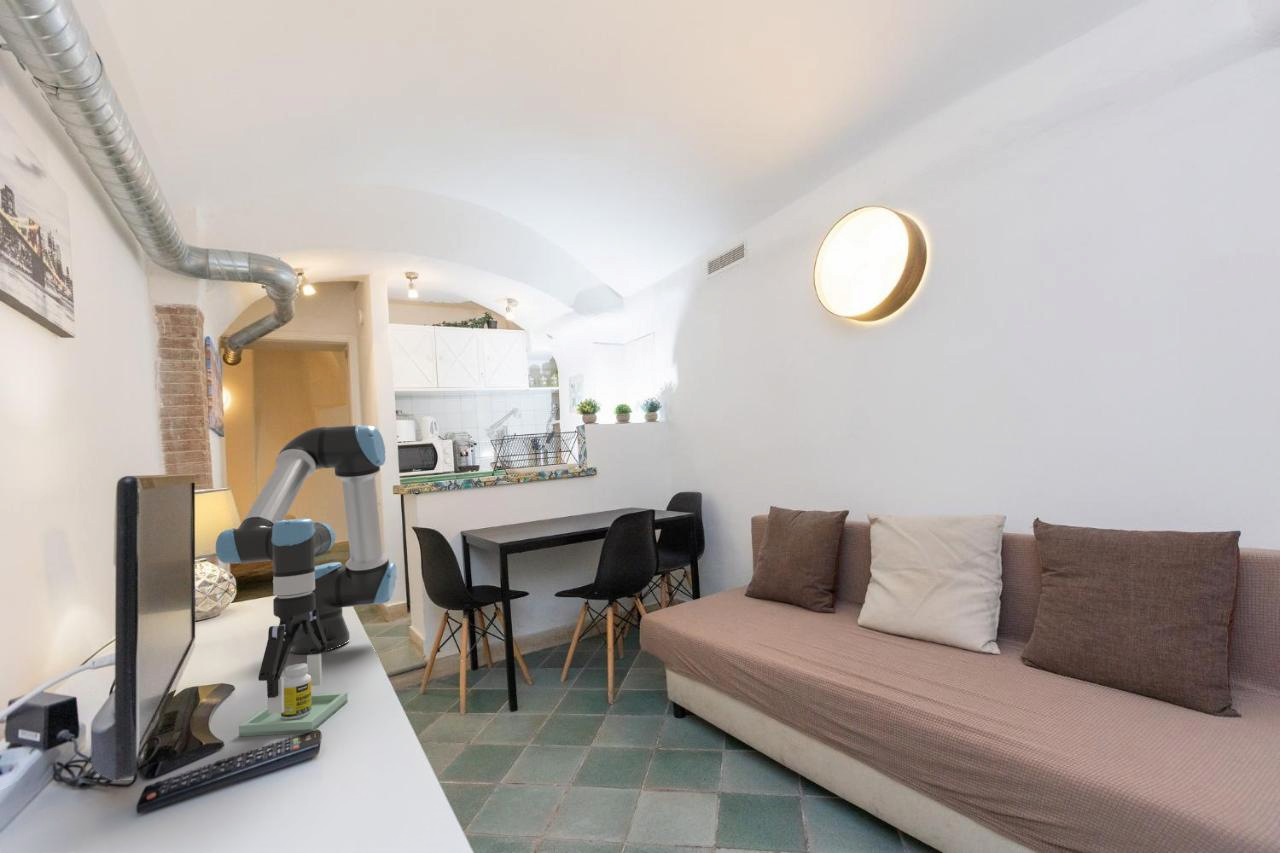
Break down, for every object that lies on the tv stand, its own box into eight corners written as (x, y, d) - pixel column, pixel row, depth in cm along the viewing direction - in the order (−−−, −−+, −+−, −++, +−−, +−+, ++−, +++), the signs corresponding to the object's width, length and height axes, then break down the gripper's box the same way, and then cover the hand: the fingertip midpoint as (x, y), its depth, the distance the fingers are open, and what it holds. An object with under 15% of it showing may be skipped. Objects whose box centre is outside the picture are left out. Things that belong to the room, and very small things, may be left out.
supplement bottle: (297, 721, 115) (296, 671, 115) (274, 720, 116) (273, 671, 116) (317, 709, 120) (317, 662, 121) (295, 708, 121) (294, 661, 122)
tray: (283, 705, 125) (282, 696, 125) (347, 701, 125) (347, 692, 125) (239, 736, 111) (238, 725, 111) (311, 732, 111) (311, 721, 111)
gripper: (310, 581, 132) (311, 675, 131) (235, 610, 107) (236, 727, 106) (342, 580, 132) (345, 673, 131) (275, 608, 107) (277, 724, 106)
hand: (296, 698), depth 118 cm, fingers open, 13 cm apart
